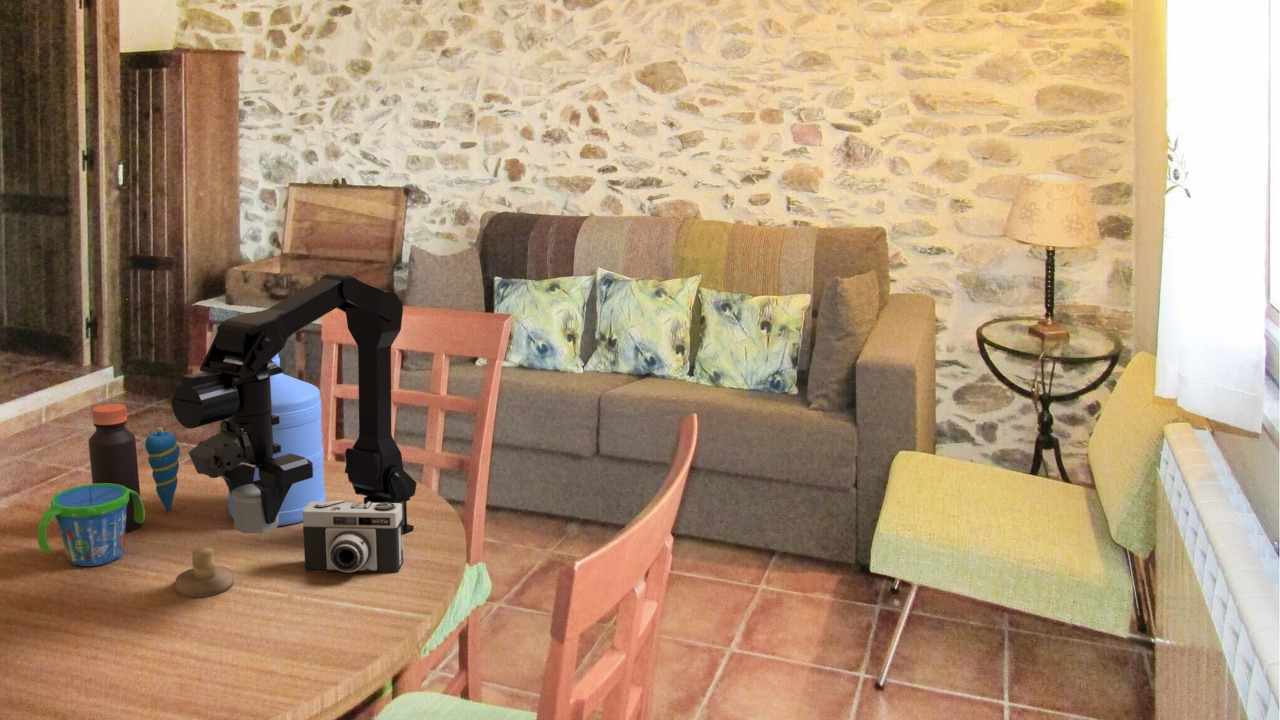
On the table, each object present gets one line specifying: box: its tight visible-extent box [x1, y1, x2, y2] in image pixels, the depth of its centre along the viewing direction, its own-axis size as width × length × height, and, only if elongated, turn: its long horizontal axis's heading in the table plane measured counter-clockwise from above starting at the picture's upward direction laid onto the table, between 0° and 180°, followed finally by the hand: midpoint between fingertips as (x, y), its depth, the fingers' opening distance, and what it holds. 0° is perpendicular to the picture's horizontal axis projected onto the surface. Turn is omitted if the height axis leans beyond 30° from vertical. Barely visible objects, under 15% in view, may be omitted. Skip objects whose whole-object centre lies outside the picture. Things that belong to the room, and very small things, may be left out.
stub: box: [175, 547, 234, 599], centre depth 158 cm, size 8×8×5 cm
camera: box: [302, 499, 404, 574], centre depth 164 cm, size 14×8×10 cm, turn 90°
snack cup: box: [37, 483, 146, 567], centre depth 166 cm, size 16×10×10 cm
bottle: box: [87, 403, 143, 533], centre depth 177 cm, size 7×7×20 cm
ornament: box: [144, 424, 181, 511], centre depth 186 cm, size 5×5×15 cm
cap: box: [232, 484, 279, 534], centre depth 155 cm, size 6×6×5 cm
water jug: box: [227, 353, 327, 527], centre depth 185 cm, size 16×16×28 cm
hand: (256, 518), depth 155 cm, fingers closed on cap, 6 cm apart
